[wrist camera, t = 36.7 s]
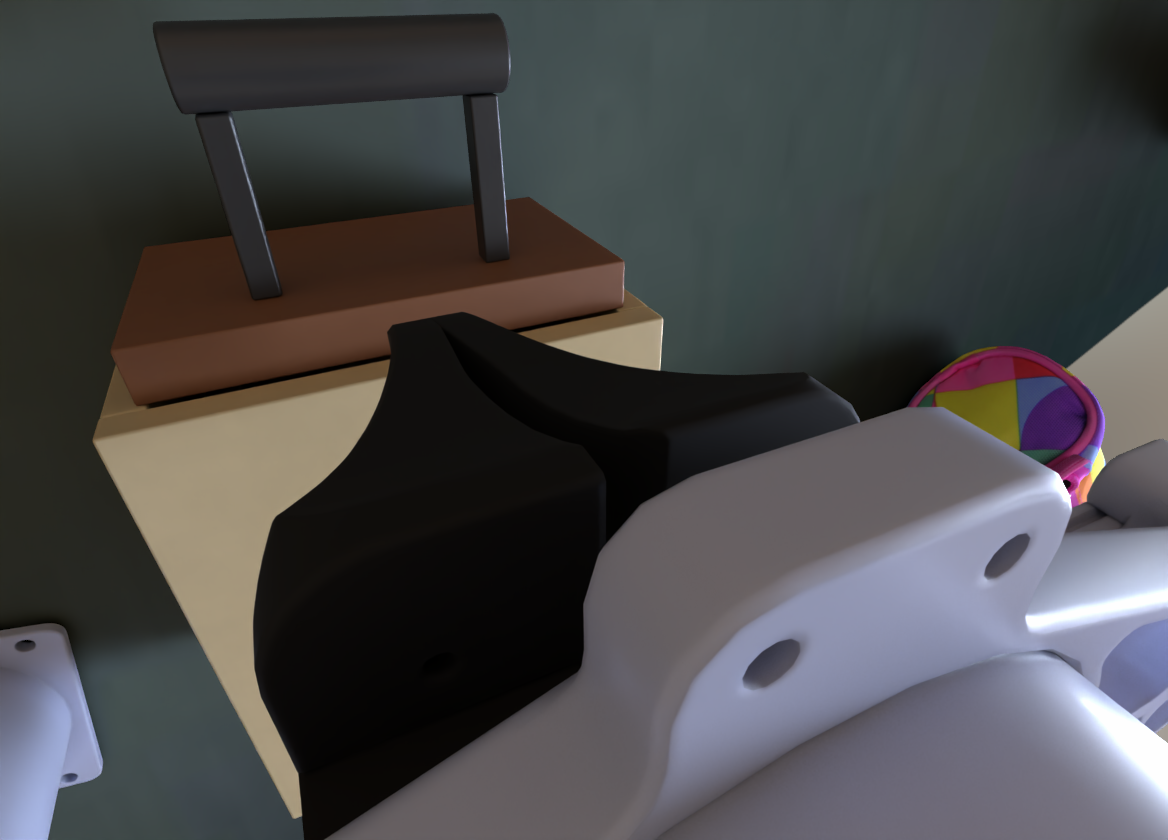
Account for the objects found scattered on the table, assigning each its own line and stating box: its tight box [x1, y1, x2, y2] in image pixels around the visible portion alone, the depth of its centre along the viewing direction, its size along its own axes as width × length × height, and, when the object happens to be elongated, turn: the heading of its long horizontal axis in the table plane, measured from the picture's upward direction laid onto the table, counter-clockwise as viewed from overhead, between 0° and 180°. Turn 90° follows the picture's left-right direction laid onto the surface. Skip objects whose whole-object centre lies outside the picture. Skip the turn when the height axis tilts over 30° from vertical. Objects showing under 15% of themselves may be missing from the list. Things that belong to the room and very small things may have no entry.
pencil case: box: [906, 346, 1106, 508], centre depth 38 cm, size 22×9×9 cm, turn 41°
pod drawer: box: [110, 13, 624, 406], centre depth 18 cm, size 17×10×6 cm, turn 179°
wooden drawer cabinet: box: [93, 289, 663, 819], centre depth 20 cm, size 14×12×8 cm
